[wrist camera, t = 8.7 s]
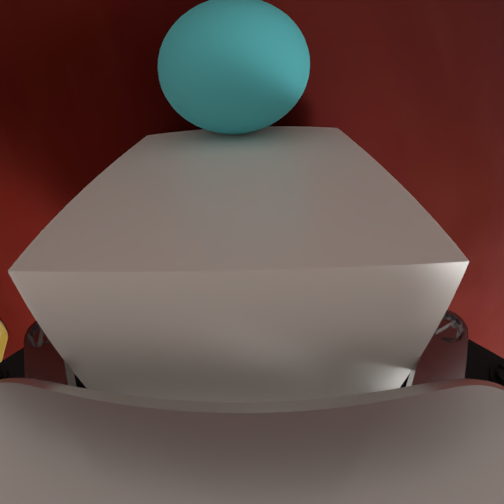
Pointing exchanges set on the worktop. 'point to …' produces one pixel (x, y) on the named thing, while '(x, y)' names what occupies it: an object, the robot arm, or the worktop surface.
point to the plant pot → (2, 339)
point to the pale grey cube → (241, 270)
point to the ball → (233, 65)
